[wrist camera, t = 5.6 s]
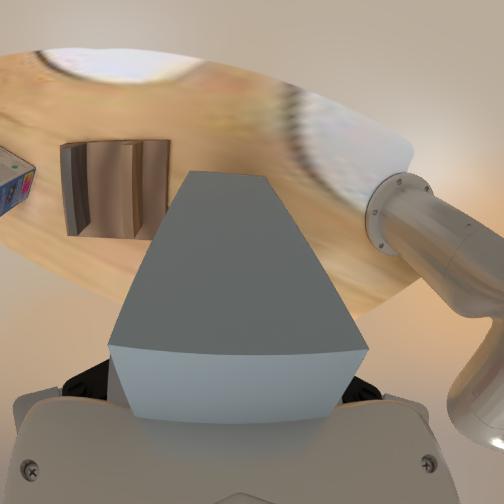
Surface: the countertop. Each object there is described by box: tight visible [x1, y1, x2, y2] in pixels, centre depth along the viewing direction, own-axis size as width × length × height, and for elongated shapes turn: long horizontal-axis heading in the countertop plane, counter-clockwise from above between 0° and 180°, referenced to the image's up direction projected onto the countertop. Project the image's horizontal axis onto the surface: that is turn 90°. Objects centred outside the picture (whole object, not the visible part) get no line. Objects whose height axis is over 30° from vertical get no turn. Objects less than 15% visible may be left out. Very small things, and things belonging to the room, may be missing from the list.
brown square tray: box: [60, 140, 170, 240], centre depth 28 cm, size 14×12×6 cm
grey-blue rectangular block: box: [108, 171, 369, 424], centre depth 11 cm, size 4×10×12 cm, turn 173°
